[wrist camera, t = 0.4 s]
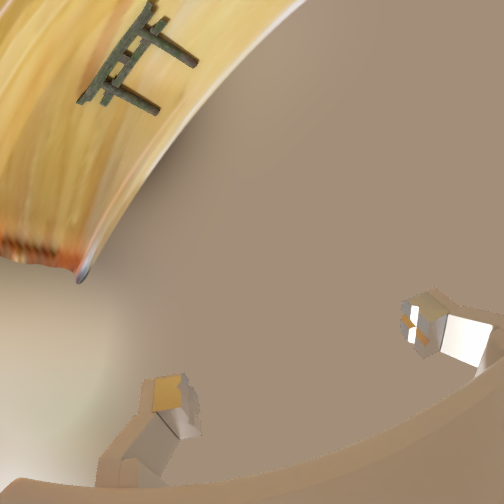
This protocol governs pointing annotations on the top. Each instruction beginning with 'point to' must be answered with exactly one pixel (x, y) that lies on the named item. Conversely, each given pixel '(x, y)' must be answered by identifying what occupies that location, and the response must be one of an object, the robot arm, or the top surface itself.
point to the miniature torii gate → (132, 62)
